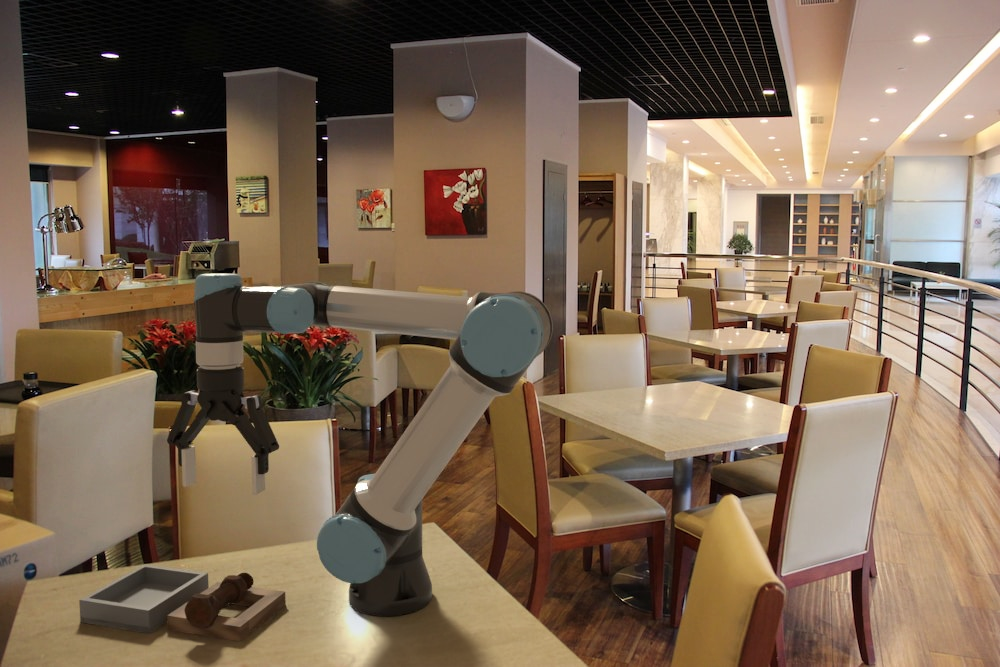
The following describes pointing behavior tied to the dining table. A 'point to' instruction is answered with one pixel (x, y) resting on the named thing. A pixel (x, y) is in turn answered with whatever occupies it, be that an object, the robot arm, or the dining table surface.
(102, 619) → the tray
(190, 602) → the bolt
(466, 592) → the dining table surface
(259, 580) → the dining table surface
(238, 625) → the rectangular frame
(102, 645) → the dining table surface
